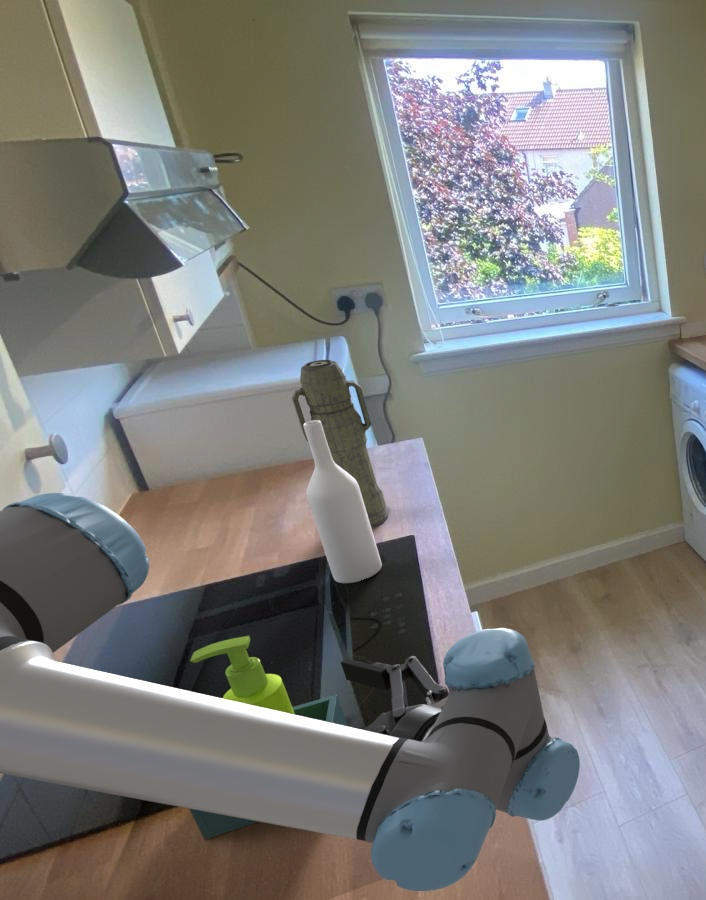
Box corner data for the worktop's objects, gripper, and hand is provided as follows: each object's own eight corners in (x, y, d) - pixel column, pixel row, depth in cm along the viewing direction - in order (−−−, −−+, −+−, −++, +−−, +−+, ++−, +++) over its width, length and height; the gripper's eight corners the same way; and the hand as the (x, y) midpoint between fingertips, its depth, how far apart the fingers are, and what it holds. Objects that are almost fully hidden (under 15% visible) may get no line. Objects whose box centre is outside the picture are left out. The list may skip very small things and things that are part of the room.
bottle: (383, 575, 136) (339, 424, 124) (333, 588, 132) (283, 434, 121) (380, 556, 142) (338, 411, 131) (333, 569, 139) (284, 420, 127)
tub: (204, 840, 84) (186, 803, 82) (228, 763, 94) (213, 729, 92) (339, 795, 89) (326, 759, 87) (348, 727, 100) (336, 694, 97)
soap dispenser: (251, 769, 92) (195, 639, 85) (314, 748, 95) (266, 621, 88) (243, 802, 88) (184, 668, 80) (310, 780, 90) (259, 648, 83)
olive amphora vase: (402, 517, 157) (358, 360, 144) (341, 538, 150) (289, 373, 136) (389, 505, 163) (345, 352, 150) (329, 524, 156) (278, 365, 142)
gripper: (347, 877, 68) (192, 818, 75) (524, 697, 90) (391, 664, 96) (324, 818, 65) (165, 763, 72) (512, 647, 87) (376, 617, 93)
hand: (294, 706), depth 84 cm, fingers open, 13 cm apart
